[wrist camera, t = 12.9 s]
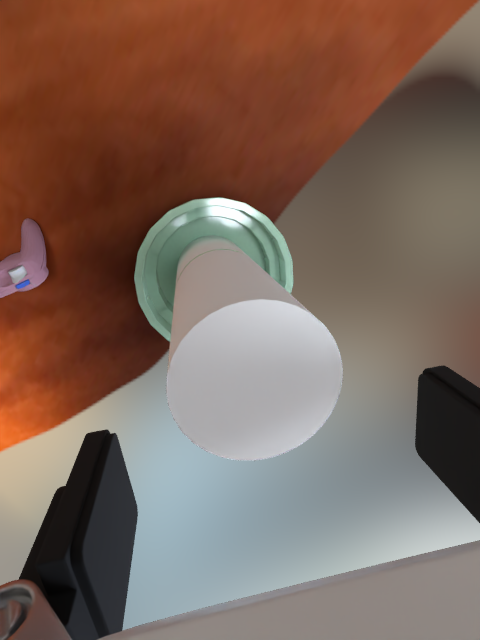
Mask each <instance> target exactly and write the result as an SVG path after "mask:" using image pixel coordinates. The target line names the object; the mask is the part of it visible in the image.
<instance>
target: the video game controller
mask: <svg viewBox="0 0 480 640" xmlns="http://www.w3.org/2000/svg"><path fill="white" fill-rule="evenodd" d="M21 238H22V241H21V250H20V253H14V254H12V255H10V256H8V257H6V258H5V259H3V261H1V262H0V298H1V297H4V296H7V295H9V294H11V293H14V292H16V291H28V290H30V289H33V288H35V287H37V286H38V285H40V284H41V283H42V282H43V281H44V280H45V279H46V278H47V276H48V273H49V271H48V269H47V267H46V248H45V242H44V238H43V235H42V232H41V230H40V227H39V226H38V224H37V223H36V222H35V221H33V220H32V219H29V218H27V219H25V220H24V221H23V223H22V227H21Z"/></svg>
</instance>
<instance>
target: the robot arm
mask: <svg viewBox="0 0 480 640" xmlns="http://www.w3.org/2000/svg"><path fill="white" fill-rule="evenodd" d="M415 440H416V441H415V447H416V450H417V453H418V455H419V456H420V457H421V459H422V460H423V461H424V462H425V463H426V464H427V465H428V466H429V467H430V469H431V470H432V471H433V472H434V473H435V474H436V475H437V476H438V477H439V479H440V480H441V481H442V482H443V483H444V484H445V485H446V486H447V487H448V488H449V489H450V491H451V492H452V493H453V494H454V495H455V496H456V497H457V498H458V500H459V501H460V502H461V503H462V504H463V505H464V506H465V507H466V508H467V509H468V511H469V512H470V513H471V514H472V515H473V516H474V517H475V518H476V520H477V521H478V522H479V523H480V388H479V387H477V386H475V385H474V384H472V383H471V382H469V381H468V380H466V379H465V378H463V377H462V376H460V375H459V374H457V373H456V372H454V371H453V370H451V369H450V368H448V367H446V366H438V367H433V368H427V369H425V370H424V371H423V374H421V375H420V376H419V379H418V400H417V419H416V439H415ZM137 516H138V512H137V504H136V501H135V497H134V493H133V490H132V486H131V483H130V479H129V476H128V472H127V469H126V466H125V462H124V458H123V455H122V451H121V448H120V444H119V440H118V437H117V435H116V433H113V434H110V432H109V431H108V430H102V431H96V432H91V433H88V434H86V436H85V438H84V441H83V443H82V446H81V448H80V451H79V453H78V456H77V458H76V461H75V463H74V466H73V469H72V471H71V473H70V476H69V479H68V481H67V484H66V486H63V487H60V488H59V489H57V491H56V493H55V494H54V497H53V499H52V501H51V504H50V506H49V509H48V511H47V514H46V516H45V518H44V520H43V523H42V525H41V528H40V530H39V532H38V535H37V537H36V540H35V542H34V544H33V547H32V549H31V552H30V554H29V556H28V558H27V561H26V563H25V566H24V568H23V570H22V573H21V575H20V577H19V580H15V581H11V582H8V583H6V584H3V585H1V586H0V640H480V540H479V541H475V542H471V543H467V544H463V545H458V546H454V547H450V548H445V549H442V550H437V551H433V552H428V553H424V554H420V555H416V556H412V557H408V558H404V559H400V560H396V561H392V562H387V563H383V564H379V565H375V566H371V567H366V568H363V569H359V570H354V571H350V572H346V573H342V574H338V575H334V576H330V577H326V578H322V579H317V580H313V581H309V582H306V583H301V584H297V585H293V586H289V587H285V588H281V589H277V590H273V591H270V592H265V593H261V594H257V595H253V596H249V597H245V598H241V599H237V600H233V601H229V602H225V603H221V604H217V605H214V606H209V607H205V608H202V609H198V610H194V611H191V612H187V613H183V614H180V615H176V616H172V617H168V618H165V619H161V620H157V621H153V622H150V623H146V624H143V625H139V626H136V627H133V628H130V629H127V630H124V631H122V627H123V619H124V612H125V605H126V598H127V591H128V583H129V575H130V568H131V561H132V554H133V546H134V539H135V532H136V524H137Z"/></svg>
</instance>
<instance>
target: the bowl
mask: <svg viewBox="0 0 480 640" xmlns="http://www.w3.org/2000/svg"><path fill="white" fill-rule="evenodd" d="M208 235H215V236H221V237H224V238H227V239H228V240H230V241H232V242H233V243H234V244H235V245H236V246H238V247H239V248H240V249H241V250H242V251H243V252H244V253H245V254H247V255H248V256H249V257H250V258H251V259H252V260H253V261H254V262H256V263H257V264H258V265H259V266H260V267H261V268H262V269H263V270H264V271H265V272H267V273H268V274H269V275H270V276H271V277H272V278H273V279H274V280H275V281H276V282H278V283H279V284H280V285H281V286H282V287H283V288H284V289H285V290H286V291H287V292H289V293H290V294H291V291H292V287H293V264H292V257H291V255H290V252H289V249H288V247H287V244H286V241H285V239H284V237H283V235H282V234H281V233H280V232H279V230H278V229H277V228H276V227H275V225H274V224H273V223H272V222H271V220H270V219H269V218H268V217H267V216H265V215H264V214H262V213H261V212H259V211H257V210H256V209H254V208H253V207H251V206H249V205H248V204H246V203H243V202H239V201H235V200H230V199H226V198H222V197H213V198H202V199H193V200H190V201H188V202H186V203H183V204H181V205H179V206H177V207H175V208H172V209H171V210H169V211H168V212H167V213H166V214H165V215H164V216H163V217H162V218H161V219H160V220H159V221H158V222H157V223H156V224H155V225H154V226H153V227H151V228H150V230H149V231H148V233H147V235H146V237H145V239H144V241H143V243H142V245H141V247H140V249H139V251H138V254H137V260H136V267H135V274H134V282H135V287H136V292H137V298H138V302H139V305H140V307H141V308H142V310H143V312H144V314H145V316H146V317H147V319H148V321H149V323H150V324H151V325H152V326H153V327H154V328H155V329H156V330H157V331H158V332H159V333H160V334H161V335H162V336H163V337H164V338H165V339H167V340H168V341H169V342H170V339H171V328H172V318H173V307H174V296H175V286H176V276H177V266H178V261H179V257H180V255H181V253H182V251H183V250H184V249H185V248H186V246H187V245H188V244H190V243H191V242H192V241H193V240H195V239H197V238H199V237H203V236H208Z"/></svg>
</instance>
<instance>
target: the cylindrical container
mask: <svg viewBox="0 0 480 640" xmlns="http://www.w3.org/2000/svg"><path fill="white" fill-rule="evenodd" d="M342 372H343V366H342V361H341V355H340V352H339V349H338V347H337V344H336V342H335V340H334V338H333V336H332V335H331V334H330V332H329V331H328V329H327V328H326V326H325V325H324V324H322V323H321V322H320V321H319V320H318V319H317V318H316V317H315V316H314V315H313V314H312V313H310V312H309V311H308V310H307V309H306V308H305V307H304V306H303V305H302V304H301V303H300V302H298V301H297V300H296V299H295V298H294V297H293V296H292V295H291V294H290V293H289V292H287V291H286V290H285V289H284V288H283V287H282V286H281V285H280V284H279V283H278V282H276V281H275V280H274V279H273V278H272V277H271V276H270V275H269V274H268V273H267V272H265V271H264V270H263V269H262V268H261V267H260V266H259V265H258V264H257V263H256V262H254V261H253V260H252V259H251V258H250V257H249V256H248V255H247V254H245V253H244V252H243V251H242V250H241V249H240V248H239V247H238V246H236V245H235V244H234V243H233V242H232V241H230V240H228V239H227V238H224V237H221V236H215V235H208V236H203V237H199V238H197V239H195V240H193V241H192V242H191V243H190V244H188V245H187V246H186V248H185V249H184V250H183V251H182V253H181V255H180V257H179V261H178V266H177V276H176V286H175V296H174V307H173V318H172V328H171V339H170V350H169V360H168V371H167V385H166V393H167V399H168V405H169V408H170V411H171V413H172V416H173V418H174V420H175V422H176V423H177V425H178V426H179V428H180V430H181V431H182V432H183V433H184V434H185V435H186V436H187V437H188V438H189V439H190V440H191V441H192V442H193V443H194V444H196V445H198V446H199V447H201V448H202V449H204V450H205V451H207V452H209V453H212V454H215V455H217V456H220V457H222V458H229V459H234V460H260V459H266V458H271V457H274V456H277V455H280V454H284V453H286V452H288V451H290V450H292V449H294V448H296V447H298V446H299V445H301V444H302V443H304V442H305V441H306V440H308V439H309V438H310V437H312V436H313V435H314V434H315V433H316V432H317V431H318V430H319V429H320V428H321V426H323V425H324V423H325V422H326V420H327V419H328V417H329V416H330V414H331V413H332V411H333V409H334V407H335V405H336V402H337V400H338V398H339V394H340V390H341V386H342V376H343V374H342Z"/></svg>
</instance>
